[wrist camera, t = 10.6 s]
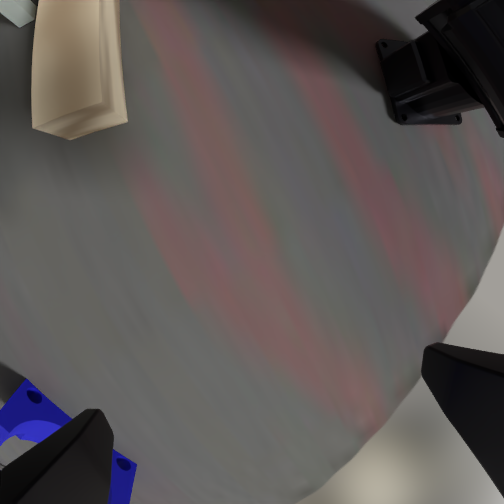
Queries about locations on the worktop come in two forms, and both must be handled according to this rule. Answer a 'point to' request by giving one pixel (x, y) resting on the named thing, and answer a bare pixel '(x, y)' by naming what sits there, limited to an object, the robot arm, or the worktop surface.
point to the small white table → (18, 11)
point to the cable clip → (47, 422)
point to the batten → (77, 68)
